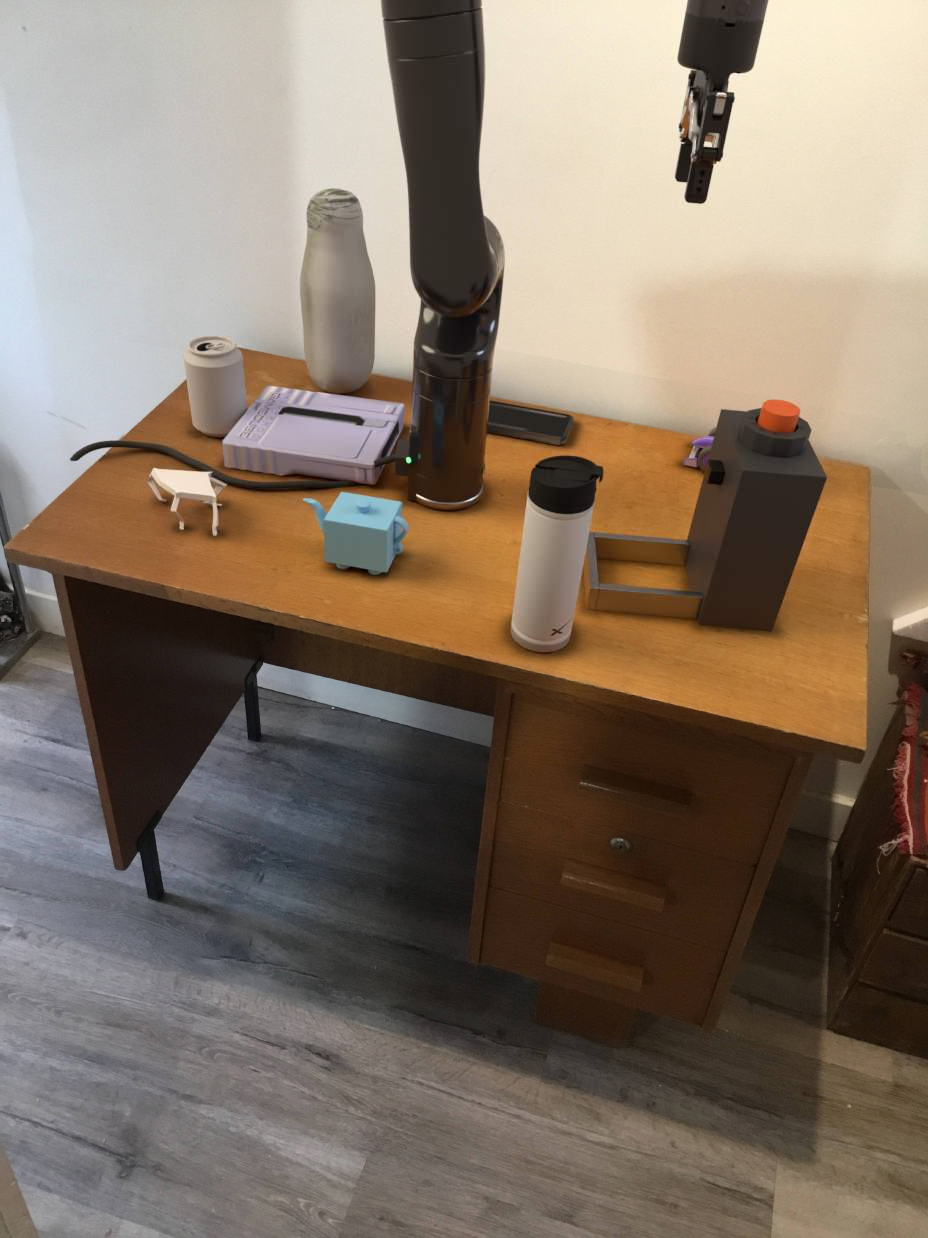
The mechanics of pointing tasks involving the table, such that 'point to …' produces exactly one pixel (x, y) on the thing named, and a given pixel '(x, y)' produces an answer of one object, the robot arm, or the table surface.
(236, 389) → the can
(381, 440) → the gaming console
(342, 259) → the grey bottle
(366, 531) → the teapot
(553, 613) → the travel mug
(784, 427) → the button
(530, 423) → the phone
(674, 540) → the frame
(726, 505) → the coffee maker
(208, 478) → the origami figure
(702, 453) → the toy race car
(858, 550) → the table surface
